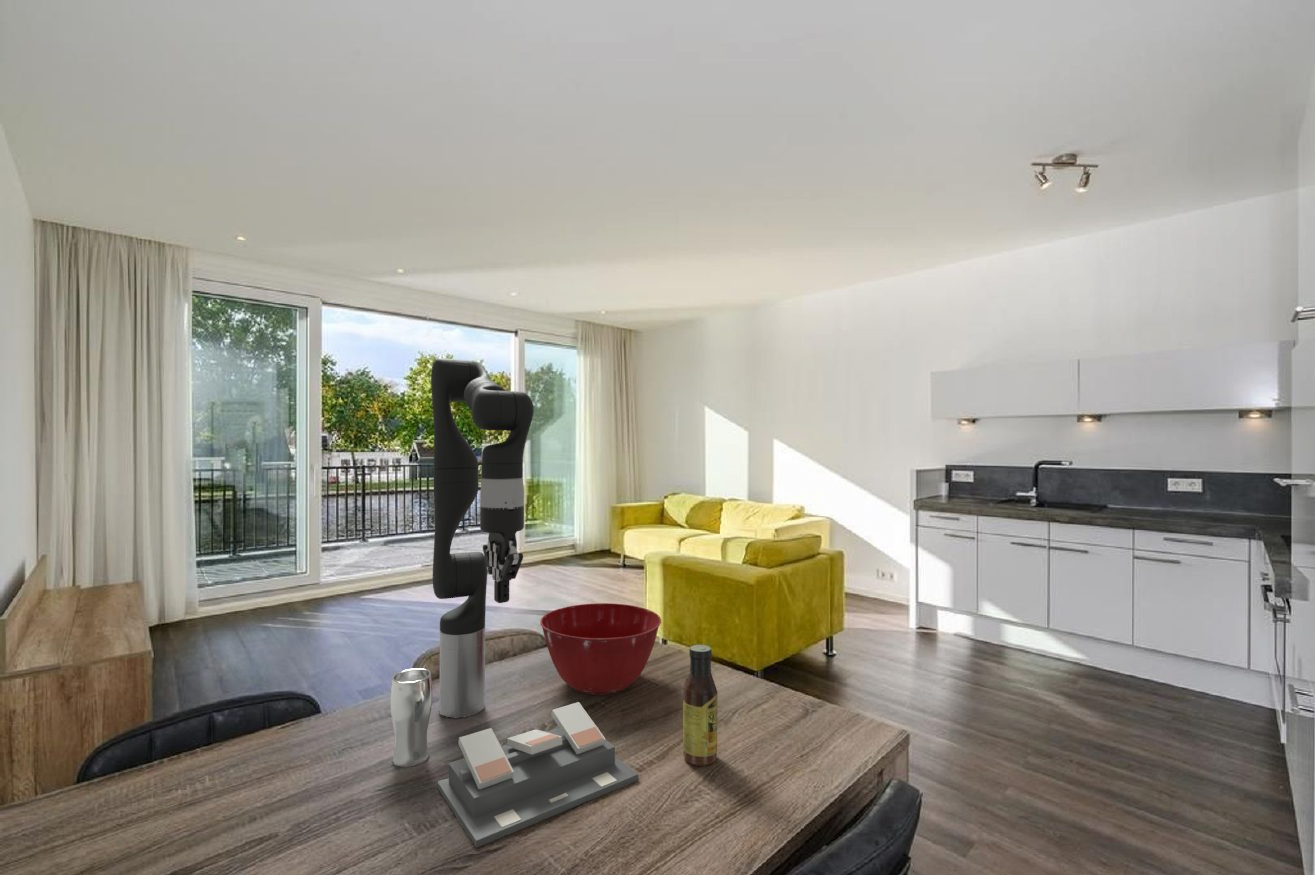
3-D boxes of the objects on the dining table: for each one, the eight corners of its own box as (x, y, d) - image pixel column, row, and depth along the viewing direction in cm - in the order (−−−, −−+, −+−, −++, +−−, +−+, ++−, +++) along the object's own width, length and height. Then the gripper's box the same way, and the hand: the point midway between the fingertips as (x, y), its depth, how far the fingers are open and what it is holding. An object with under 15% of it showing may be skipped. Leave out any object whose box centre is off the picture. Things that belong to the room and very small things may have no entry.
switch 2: (507, 746, 103) (506, 737, 103) (536, 736, 106) (536, 728, 107) (531, 754, 95) (530, 746, 96) (562, 744, 99) (561, 736, 99)
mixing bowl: (611, 652, 161) (611, 595, 161) (685, 685, 140) (686, 619, 140) (517, 681, 142) (517, 616, 142) (587, 723, 121) (588, 647, 121)
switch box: (437, 787, 98) (437, 756, 98) (584, 737, 115) (584, 710, 115) (476, 848, 84) (476, 811, 84) (638, 780, 101) (638, 749, 101)
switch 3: (551, 715, 108) (552, 709, 108) (577, 707, 112) (578, 701, 111) (576, 754, 101) (578, 748, 101) (604, 744, 104) (605, 738, 104)
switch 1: (458, 743, 98) (459, 737, 98) (490, 733, 102) (491, 727, 101) (478, 790, 91) (479, 783, 90) (512, 777, 94) (514, 771, 94)
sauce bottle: (715, 770, 104) (715, 656, 104) (680, 766, 105) (680, 653, 105) (719, 750, 110) (719, 643, 110) (685, 747, 112) (686, 641, 112)
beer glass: (440, 753, 109) (440, 671, 109) (409, 772, 103) (410, 686, 103) (412, 745, 112) (412, 665, 112) (381, 763, 105) (381, 678, 106)
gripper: (468, 501, 108) (467, 597, 108) (496, 508, 97) (495, 614, 97) (507, 499, 112) (507, 590, 112) (538, 505, 102) (537, 606, 102)
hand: (501, 601), depth 105 cm, fingers closed
